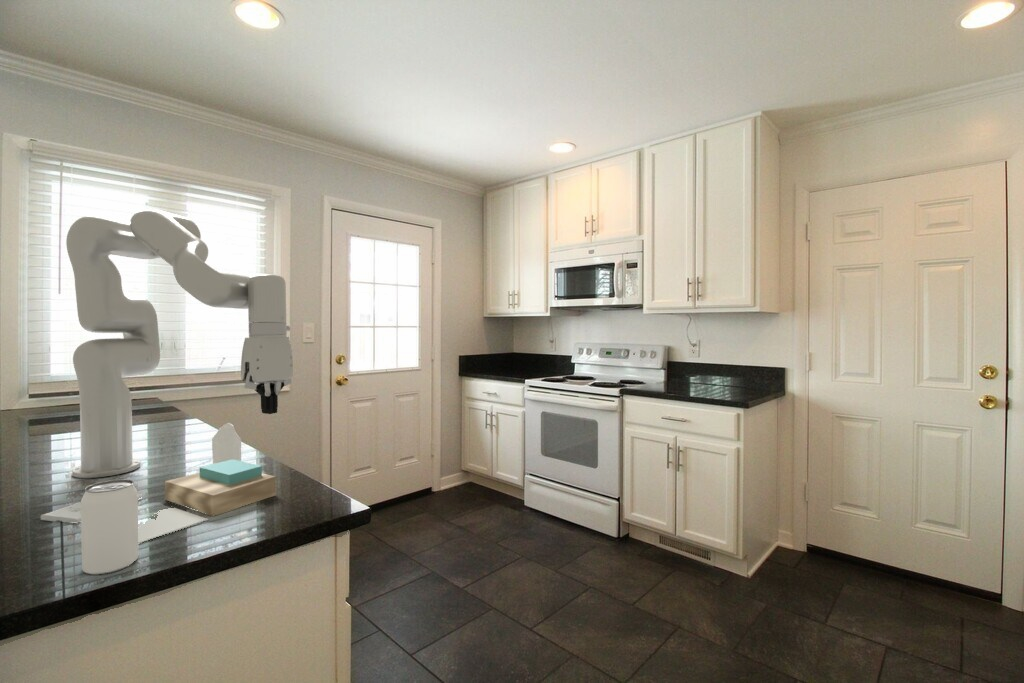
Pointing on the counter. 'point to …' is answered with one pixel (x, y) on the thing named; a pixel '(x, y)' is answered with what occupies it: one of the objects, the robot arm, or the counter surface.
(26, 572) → the counter surface
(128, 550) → the can
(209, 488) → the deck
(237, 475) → the teal sticky note pad
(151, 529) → the mat
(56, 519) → the external hard drive
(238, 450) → the white tall lump
